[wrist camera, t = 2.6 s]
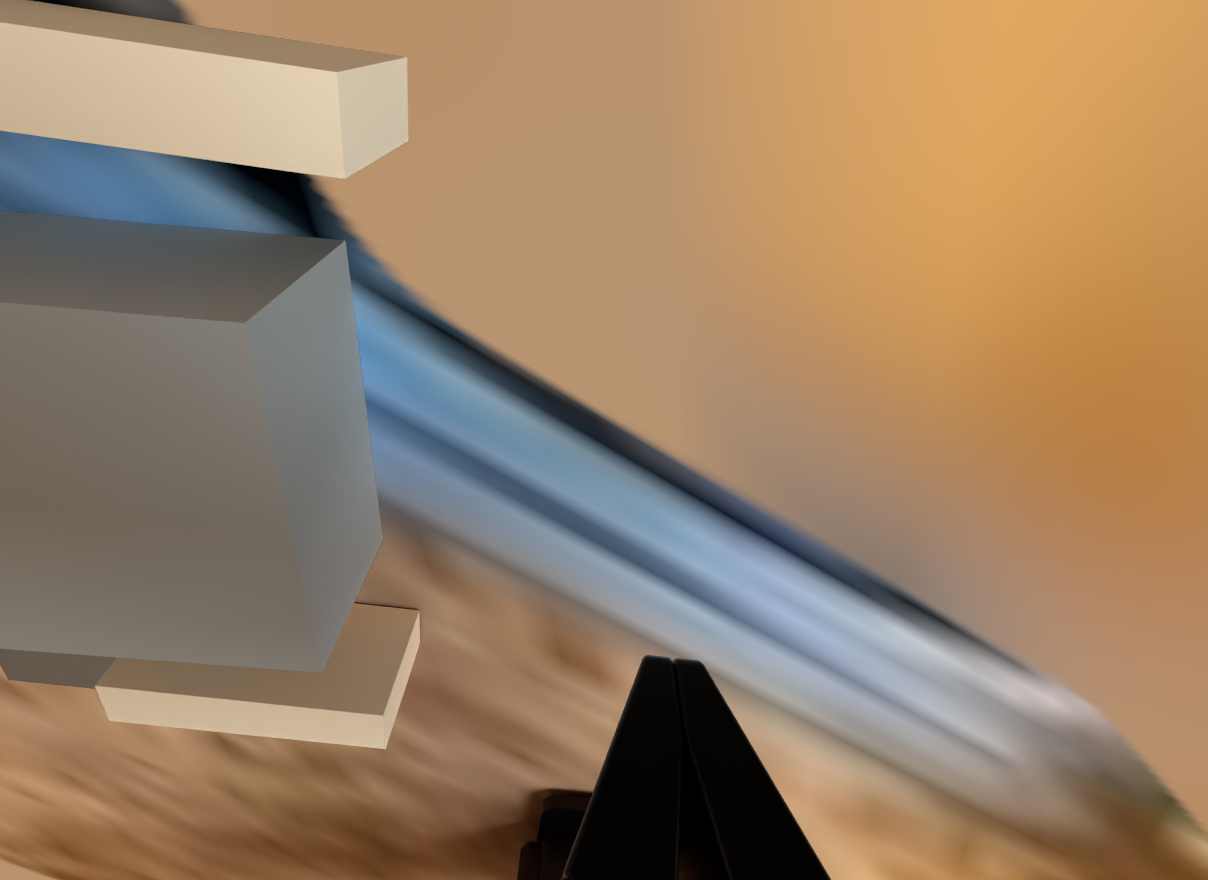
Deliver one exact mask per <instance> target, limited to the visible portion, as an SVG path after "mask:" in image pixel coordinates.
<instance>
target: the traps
mask: <svg viewBox="0 0 1208 880" xmlns="http://www.w3.org/2000/svg"><path fill="white" fill-rule="evenodd" d="M116 658H117V657H104V656H91V655H77V654H64V653H50V652H37V651H24V650H10V649H0V665H1V667H2V668H3V670H4V672H5V674H6V676H7V678H8V680H16V681H26V682H35V683H45V684H55V685H64V686H74V687H84V688H93V689H96V688H95V684H96V683H97V682H98V681H99V679H100V678H101V677H102V676H103V674H104V673H105V672H106V670H107V669H108V668H109V667H110V665H111V664H112V663H113V662H114V660H115V659H116Z"/></svg>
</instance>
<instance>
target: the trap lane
mask: <svg viewBox="0 0 1208 880" xmlns="http://www.w3.org/2000/svg"><path fill="white" fill-rule="evenodd" d="M407 88H408V87H407V57H402V56H395V55H388V54H382V53H375V52H369V51H362V50H355V49H349V48H342V47H335V46H329V45H322V44H315V43H309V42H302V41H295V40H288V39H282V38H276V37H269V36H262V35H256V34H248V33H241V32H235V31H228V30H222V29H215V28H209V27H202V26H196V25H189V24H182V23H176V22H169V21H162V20H156V19H149V18H142V17H136V16H129V15H123V14H116V13H109V12H103V11H96V10H89V9H83V8H76V7H69V6H63V5H56V4H49V3H43V2H36V1H29V0H0V131H7V132H14V133H21V134H28V135H35V136H43V137H50V138H57V139H64V140H71V141H78V142H85V143H92V144H99V145H106V146H113V147H120V148H128V149H135V150H142V151H149V152H156V153H163V154H170V155H177V156H184V157H191V158H198V159H205V160H213V161H220V162H227V163H234V164H241V165H248V166H255V167H262V168H269V169H276V170H283V171H290V172H298V173H305V174H312V175H319V176H326V177H333V178H340V179H346V178H347V177H349V176H351V175H352V174H354V173H356V172H357V171H359V170H361V169H362V168H364V167H366V166H367V165H369V164H371V163H372V162H374V161H376V160H377V159H379V158H380V157H382V156H384V155H385V154H387V153H389V152H391V151H392V150H394V149H395V148H397V147H399V146H401V145H402V144H404V143H405V142H407V141H409V133H408V131H409V130H408V89H407ZM419 645H420V617H419V610H410V609H401V608H392V607H383V606H375V605H366V604H357V603H354V604H353V606H352V608H351V610H350V613H349V615H348V617H347V619H346V621H345V624H344V626H343V628H342V630H341V632H340V634H339V637H338V639H337V641H336V643H335V645H334V648H333V650H332V652H331V654H330V656H329V658H328V661H327V663H326V665H325V667H324V669H323V672H322V673H318V672H305V671H291V670H278V669H264V668H251V667H238V666H224V665H211V664H198V663H184V662H171V661H157V660H144V659H131V658H116V659H115V660H114V662H113V663H112V664H111V665H110V667H109V668H108V669H107V670H106V672H105V673H104V674H103V676H102V677H101V678H100V679H99V681H98V682H97V683H96V684H95V688H96V690H97V693H98V695H99V698H100V700H101V702H102V705H103V707H104V709H105V712H106V714H107V716H108V719H109V721H115V722H125V723H135V724H145V725H155V726H164V727H174V728H184V729H194V730H204V731H214V732H223V733H233V734H243V735H253V736H263V737H273V738H283V739H292V740H302V741H312V742H322V743H332V744H342V745H351V746H361V747H371V748H381V749H386V746H387V743H388V740H389V737H390V734H391V731H392V728H393V725H394V722H395V719H396V715H397V712H398V709H399V706H400V703H401V700H402V697H403V694H404V691H405V688H406V685H407V682H408V678H409V675H410V672H411V669H412V666H413V663H414V660H415V657H416V654H417V651H418V648H419Z"/></svg>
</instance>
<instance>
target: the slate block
mask: <svg viewBox="0 0 1208 880" xmlns="http://www.w3.org/2000/svg"><path fill="white" fill-rule="evenodd" d="M382 541H383V535H382V527H381V519H380V512H379V504H378V496H377V488H376V480H375V472H374V464H373V456H372V448H371V440H370V432H369V424H368V416H367V408H366V400H365V392H364V384H363V376H362V368H361V360H360V353H359V345H358V337H357V329H356V321H355V313H354V305H353V297H352V289H351V281H350V273H349V265H348V257H347V249H346V241H345V240H335V239H324V238H312V237H301V236H289V235H278V234H266V233H255V232H243V231H232V230H220V229H209V228H197V227H186V226H174V225H163V224H151V223H140V222H129V221H117V220H106V219H94V218H83V217H71V216H60V215H48V214H37V213H25V212H14V211H2V210H0V649H10V650H24V651H37V652H50V653H64V654H77V655H91V656H104V657H117V658H131V659H144V660H157V661H171V662H184V663H198V664H211V665H224V666H238V667H251V668H264V669H278V670H291V671H305V672H318V673H322V672H323V669H324V667H325V665H326V663H327V661H328V658H329V656H330V654H331V652H332V650H333V648H334V645H335V643H336V641H337V639H338V637H339V634H340V632H341V630H342V628H343V626H344V624H345V621H346V619H347V617H348V615H349V613H350V610H351V608H352V606H353V604H354V602H355V600H356V597H357V595H358V593H359V591H360V589H361V587H362V584H363V582H364V580H365V578H366V576H367V573H368V571H369V569H370V567H371V565H372V563H373V560H374V558H375V556H376V554H377V552H378V549H379V547H380V545H381V543H382Z"/></svg>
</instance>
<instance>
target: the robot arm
mask: <svg viewBox="0 0 1208 880" xmlns="http://www.w3.org/2000/svg"><path fill="white" fill-rule="evenodd" d="M517 880H831V879H830V877H829V875H828V874H827V872H826V870H825V869H824V867H823V865H822V863H821V862H820V860H819V858H818V857H817V855H816V853H815V852H814V850H813V848H812V847H811V845H810V843H809V842H808V840H807V838H806V836H805V835H804V833H803V831H802V830H801V828H800V826H799V825H798V823H797V821H796V820H795V818H794V816H793V815H792V813H791V811H790V809H789V808H788V806H787V804H786V803H785V801H784V799H783V798H782V796H781V794H780V793H779V791H778V789H777V788H776V786H775V784H774V782H773V781H772V779H771V777H770V776H769V774H768V772H767V771H766V769H765V767H764V766H763V764H762V762H761V761H760V759H759V757H758V755H757V754H756V752H755V750H754V749H753V747H752V745H751V744H750V742H749V740H748V739H747V737H746V735H745V734H744V732H743V730H742V728H741V727H740V725H739V723H738V722H737V720H736V718H735V717H734V715H733V713H732V712H731V710H730V708H729V707H728V705H727V703H726V701H725V700H724V698H723V696H722V695H721V693H720V691H719V690H718V688H717V686H716V685H715V683H714V681H713V680H712V678H711V676H710V674H709V673H708V671H707V669H706V668H705V666H704V665H703V664H702V663H701V662H700V661H697V660H688V659H679V658H677V659H674V660H673V661H672V660H671V659H670V658H668V657H661V656H652V655H646V656H644V657H643V659H642V662H641V664H640V667H639V670H638V672H637V675H636V678H635V680H634V683H633V686H632V688H631V691H630V694H629V697H628V699H627V702H626V705H625V707H624V710H623V713H622V715H621V718H620V721H619V723H618V726H617V729H616V732H615V734H614V737H613V740H612V742H611V745H610V748H609V750H608V753H607V756H606V759H605V761H604V764H603V767H602V769H601V772H600V775H599V777H598V780H597V783H596V785H595V788H594V791H593V794H592V796H591V798H583V797H573V796H563V795H552V796H548V797H547V798H545V799H544V800H543V802H542V807H541V814H540V821H539V827H538V834H537V841H536V842H533V841H528V842H527V843H526V844H525V845H524V846H523V847H522V848H521V854H520V862H519V870H518V877H517Z"/></svg>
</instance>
